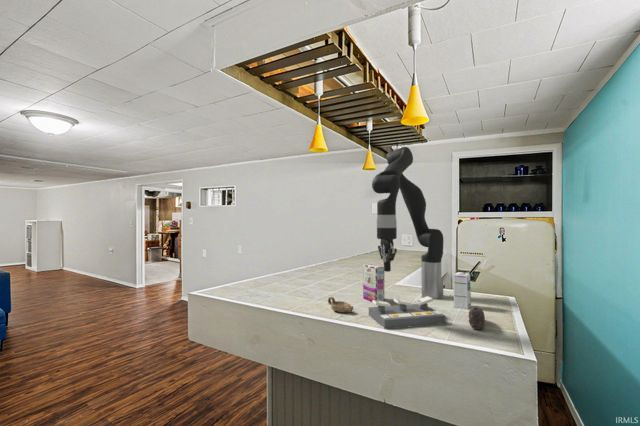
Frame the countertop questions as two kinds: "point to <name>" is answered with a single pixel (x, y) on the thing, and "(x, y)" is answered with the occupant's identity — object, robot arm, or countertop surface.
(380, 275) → the candy bar box
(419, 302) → the rocker
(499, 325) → the countertop surface
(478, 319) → the perforated stone tool
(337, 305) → the oil lamp
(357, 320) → the countertop surface
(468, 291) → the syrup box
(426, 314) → the switch console
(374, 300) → the rocker
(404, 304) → the middle rocker
